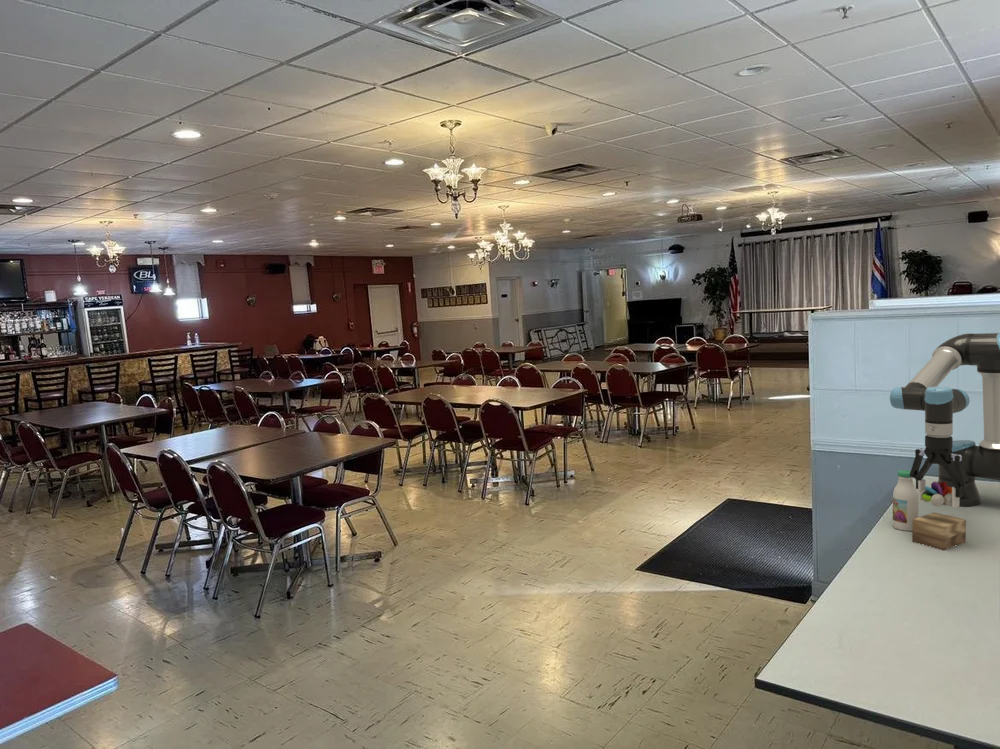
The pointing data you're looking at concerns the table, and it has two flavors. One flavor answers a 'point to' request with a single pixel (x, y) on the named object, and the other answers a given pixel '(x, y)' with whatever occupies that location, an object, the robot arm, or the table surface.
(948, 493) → the multicoloured petal toy
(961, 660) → the table surface
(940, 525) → the tower top
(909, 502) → the milk bottle
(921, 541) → the tower base
